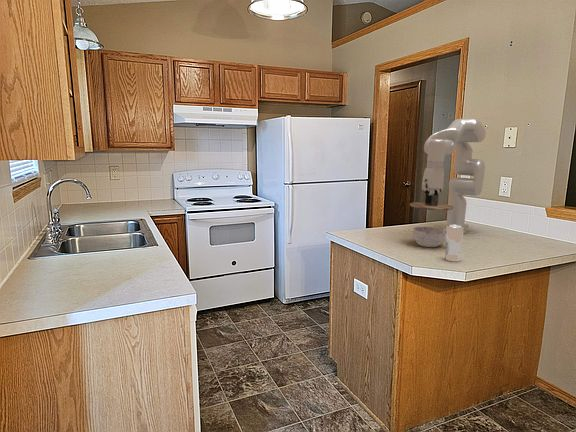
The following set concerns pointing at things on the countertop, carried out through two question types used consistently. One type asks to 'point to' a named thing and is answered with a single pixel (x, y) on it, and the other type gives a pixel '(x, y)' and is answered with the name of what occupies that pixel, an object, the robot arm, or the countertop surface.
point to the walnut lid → (433, 205)
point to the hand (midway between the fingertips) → (431, 202)
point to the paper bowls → (428, 236)
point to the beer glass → (453, 242)
